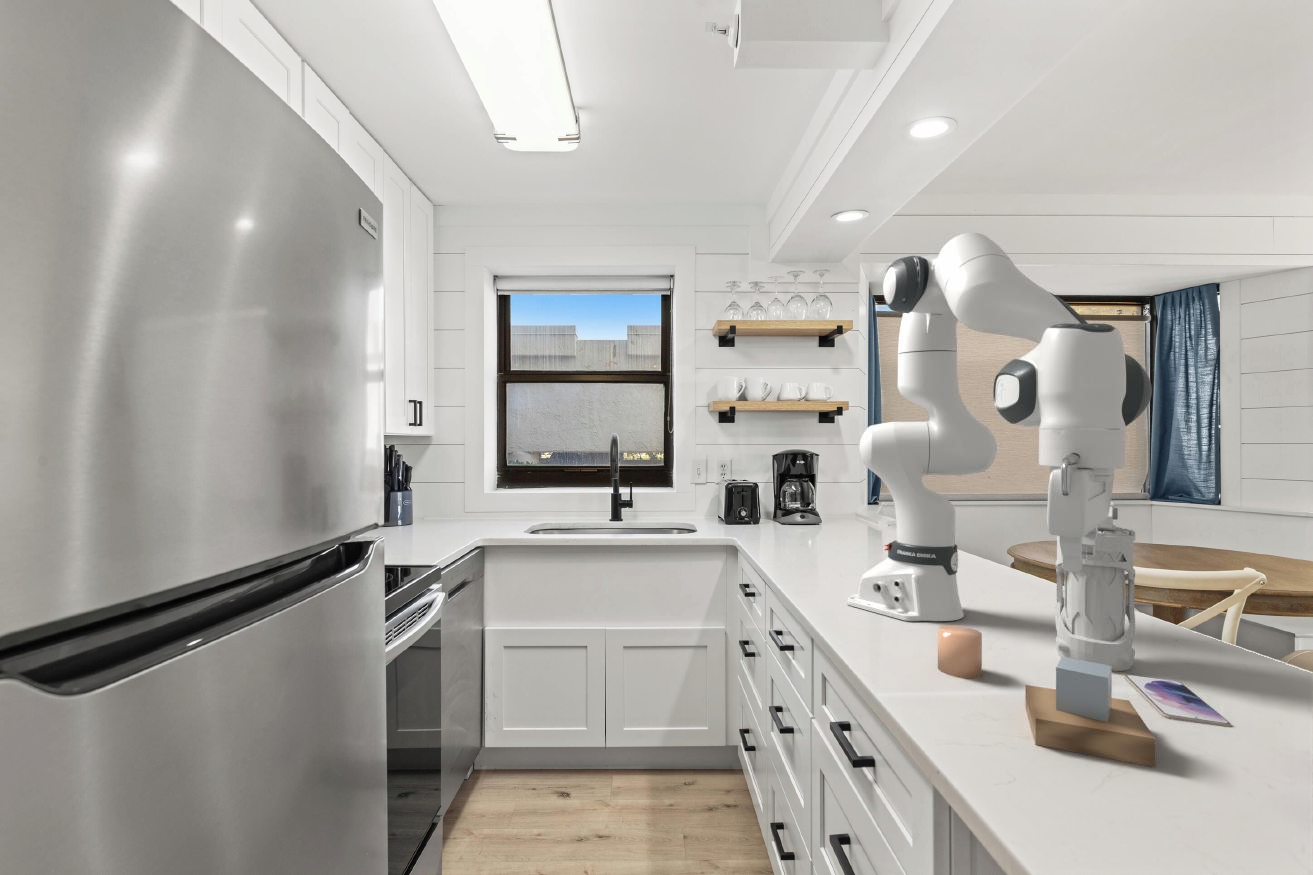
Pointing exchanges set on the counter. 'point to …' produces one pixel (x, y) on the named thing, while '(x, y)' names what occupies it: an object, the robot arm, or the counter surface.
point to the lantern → (1099, 600)
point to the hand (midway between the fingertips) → (1079, 564)
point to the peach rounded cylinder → (960, 651)
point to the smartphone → (1175, 701)
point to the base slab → (1090, 729)
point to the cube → (1084, 688)
